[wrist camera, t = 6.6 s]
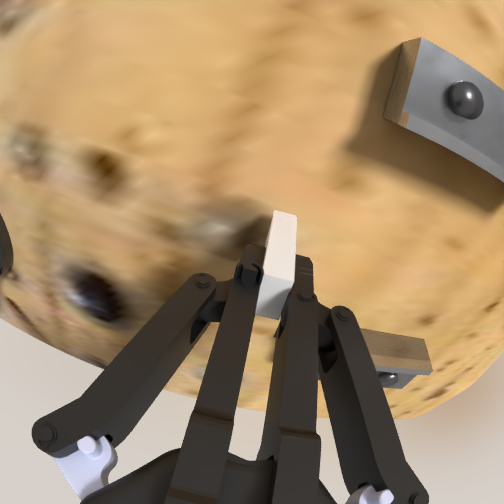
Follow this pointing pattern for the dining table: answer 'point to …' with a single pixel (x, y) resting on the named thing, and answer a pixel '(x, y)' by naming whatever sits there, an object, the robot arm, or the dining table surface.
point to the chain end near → (448, 104)
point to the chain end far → (396, 357)
